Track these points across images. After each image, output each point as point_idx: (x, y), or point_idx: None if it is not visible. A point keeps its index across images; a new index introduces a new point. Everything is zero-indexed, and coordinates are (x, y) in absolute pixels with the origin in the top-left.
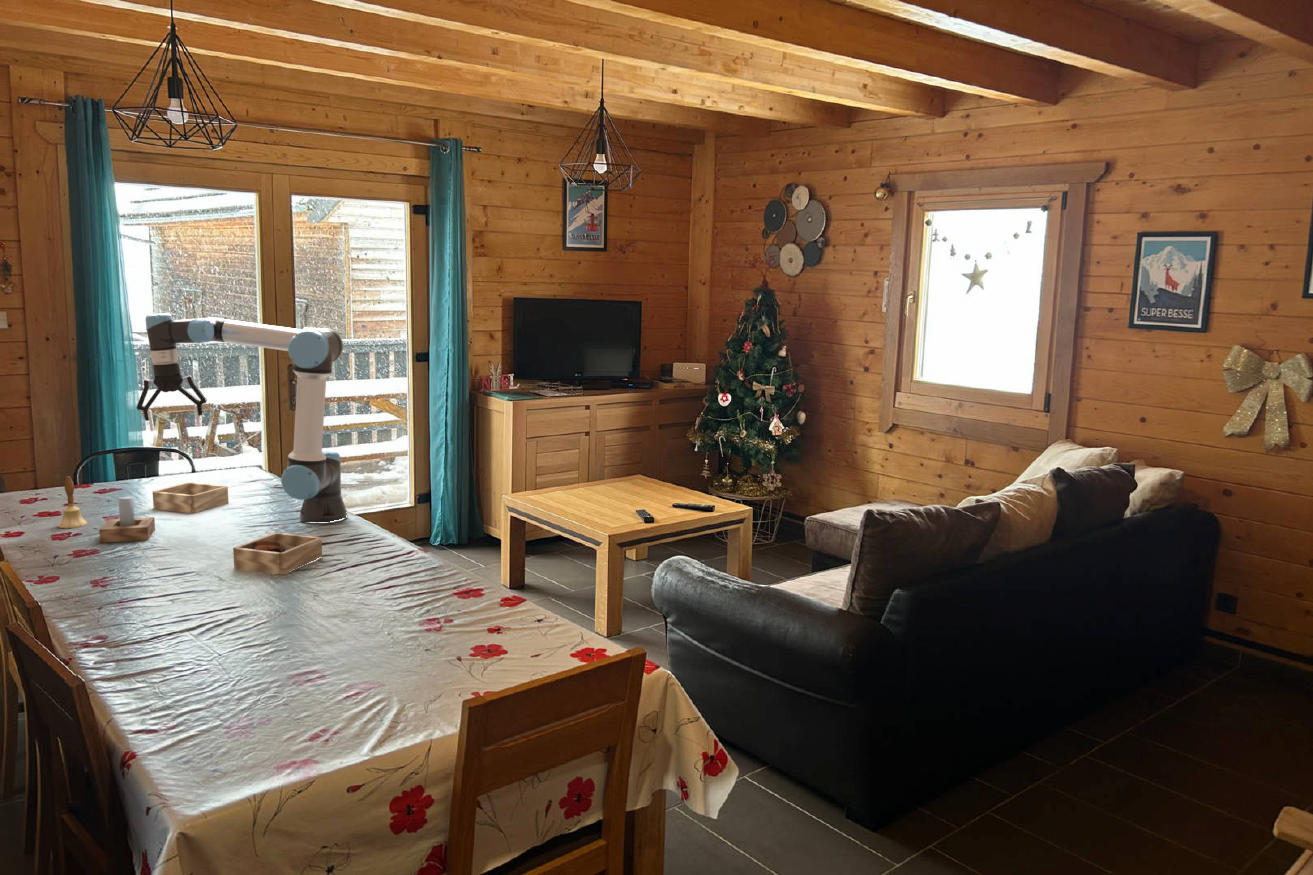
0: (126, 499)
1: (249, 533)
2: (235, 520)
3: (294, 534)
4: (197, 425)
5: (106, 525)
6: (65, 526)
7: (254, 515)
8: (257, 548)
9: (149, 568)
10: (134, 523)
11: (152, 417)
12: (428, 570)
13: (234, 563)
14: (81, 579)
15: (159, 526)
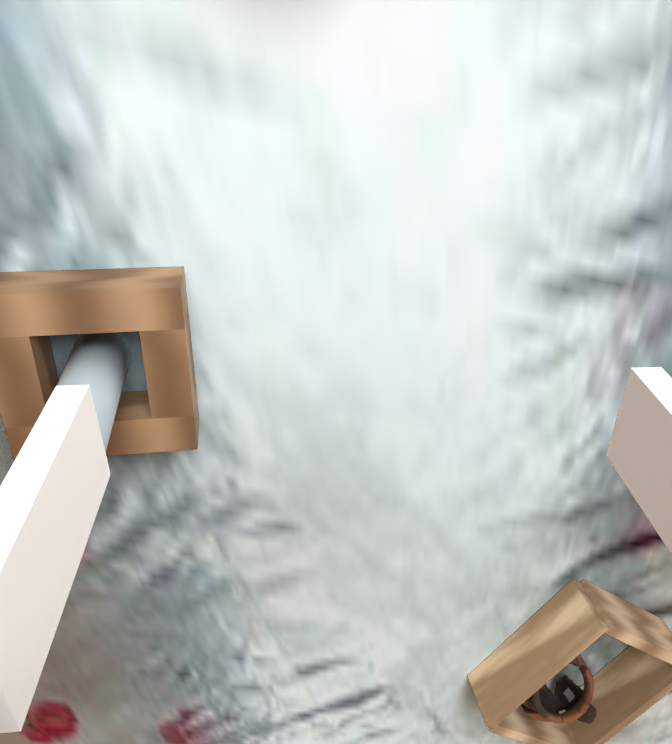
0: None
1: (536, 387)
2: (507, 168)
3: (646, 641)
4: (613, 462)
5: (14, 403)
6: None
7: (596, 80)
8: (538, 719)
9: (273, 666)
10: (123, 381)
11: (34, 507)
12: None
13: (472, 687)
14: (133, 722)
15: (189, 215)
